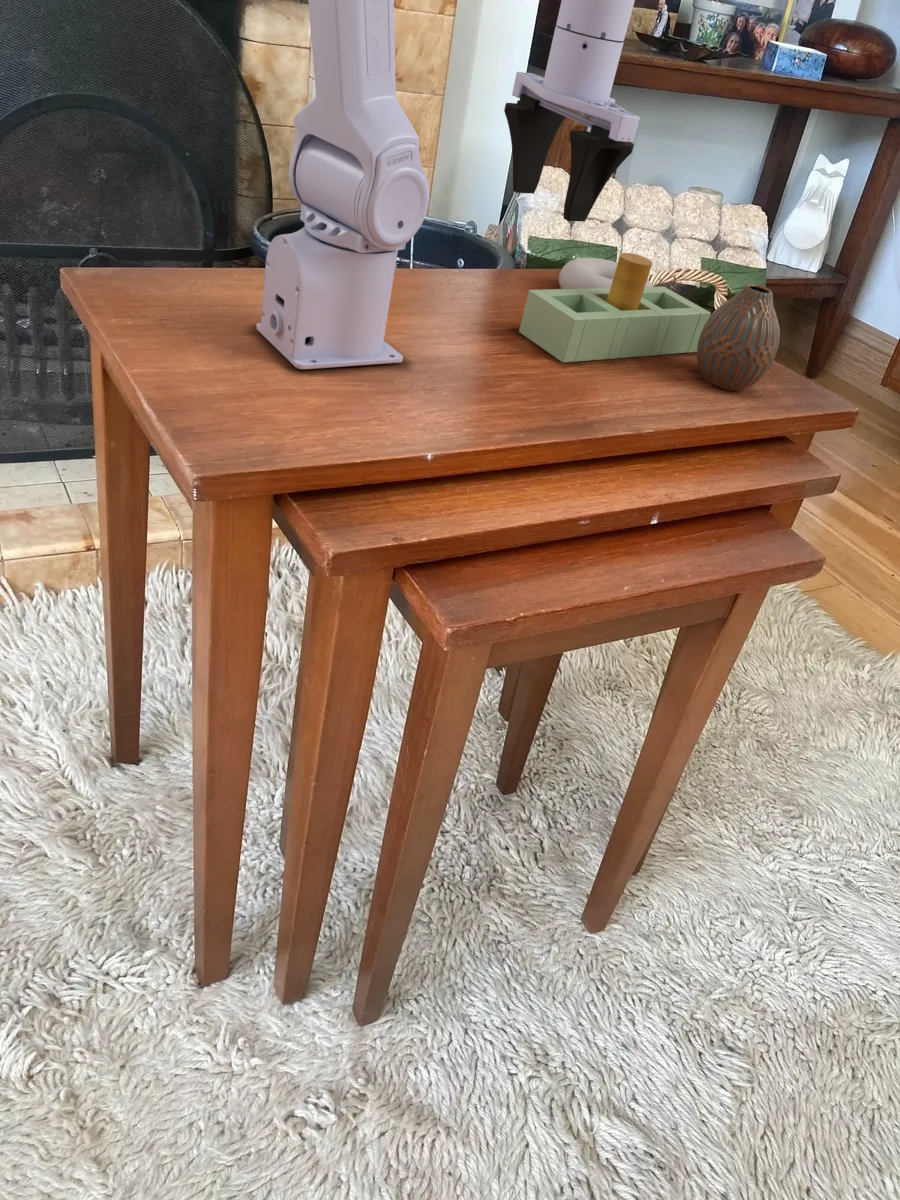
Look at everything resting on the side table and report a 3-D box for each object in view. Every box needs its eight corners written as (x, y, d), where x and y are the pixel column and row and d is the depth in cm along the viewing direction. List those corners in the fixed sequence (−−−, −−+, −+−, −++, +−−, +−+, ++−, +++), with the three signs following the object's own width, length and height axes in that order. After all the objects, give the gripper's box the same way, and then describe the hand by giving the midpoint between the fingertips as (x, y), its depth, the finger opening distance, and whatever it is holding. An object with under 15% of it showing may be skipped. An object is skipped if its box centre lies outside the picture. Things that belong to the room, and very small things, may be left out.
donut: (650, 329, 98) (644, 296, 106) (661, 296, 96) (654, 265, 104) (553, 307, 97) (555, 276, 105) (562, 274, 95) (563, 244, 103)
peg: (609, 350, 90) (635, 264, 85) (589, 336, 92) (613, 252, 87) (632, 348, 92) (659, 264, 87) (612, 335, 94) (637, 252, 89)
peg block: (562, 362, 85) (574, 319, 83) (518, 332, 89) (528, 289, 87) (697, 352, 94) (711, 312, 92) (651, 324, 99) (664, 286, 96)
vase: (673, 365, 90) (705, 271, 85) (731, 365, 93) (765, 275, 88) (715, 398, 85) (752, 302, 80) (775, 398, 88) (814, 305, 83)
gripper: (684, 59, 76) (633, 233, 84) (572, 21, 85) (535, 182, 93) (619, 49, 73) (572, 233, 80) (509, 11, 82) (475, 179, 89)
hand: (548, 205), depth 87 cm, fingers open, 7 cm apart
